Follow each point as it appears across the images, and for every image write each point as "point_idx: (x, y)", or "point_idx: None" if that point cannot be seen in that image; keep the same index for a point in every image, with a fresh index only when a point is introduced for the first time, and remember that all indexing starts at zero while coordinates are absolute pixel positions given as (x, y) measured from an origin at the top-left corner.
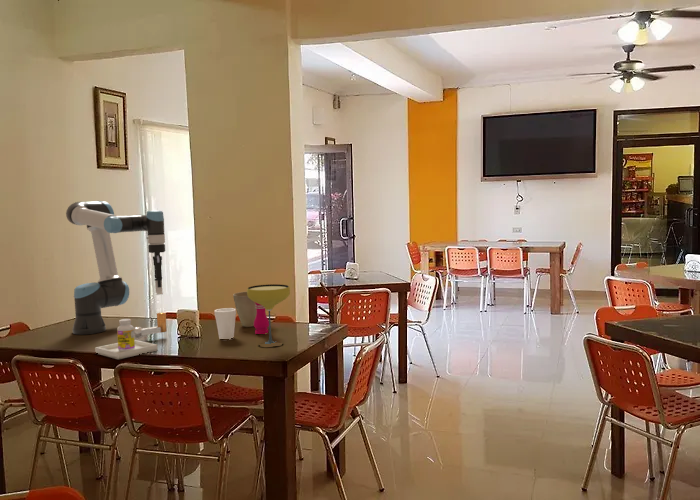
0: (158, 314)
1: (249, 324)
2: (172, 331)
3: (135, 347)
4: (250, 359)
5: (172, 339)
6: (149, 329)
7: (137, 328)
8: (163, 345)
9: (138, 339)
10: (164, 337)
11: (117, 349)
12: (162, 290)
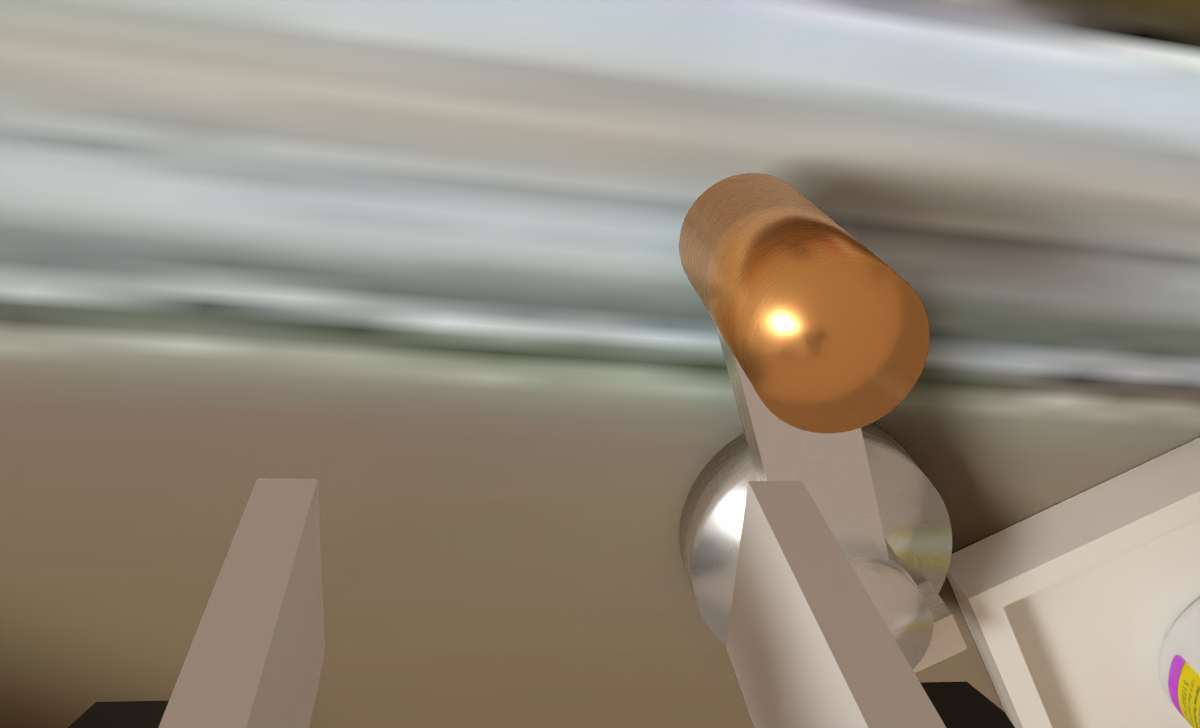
0: (893, 402)
1: None
2: (273, 4)
3: (1176, 561)
4: None
5: (903, 93)
6: (865, 452)
7: (912, 623)
8: (1188, 251)
9: (947, 543)
10: (695, 184)
11: (1139, 716)
12: (838, 551)
